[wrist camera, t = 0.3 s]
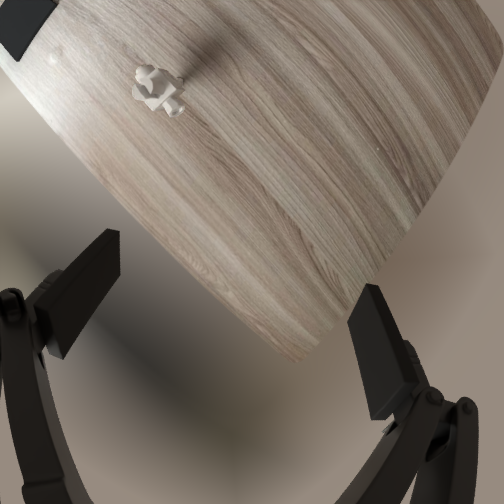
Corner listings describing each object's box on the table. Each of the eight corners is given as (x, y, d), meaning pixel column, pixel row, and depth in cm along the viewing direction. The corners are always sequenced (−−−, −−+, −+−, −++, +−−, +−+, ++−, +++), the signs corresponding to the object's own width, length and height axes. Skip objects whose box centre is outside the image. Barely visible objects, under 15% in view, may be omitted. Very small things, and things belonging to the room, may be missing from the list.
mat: (-10, 27, 26) (-13, 27, 25) (24, -23, 21) (21, -24, 21) (19, 61, 31) (16, 61, 30) (57, 4, 26) (54, 4, 26)
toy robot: (184, 120, 37) (151, 129, 26) (149, 81, 34) (106, 78, 24) (206, 101, 36) (180, 102, 25) (170, 62, 33) (133, 50, 22)
